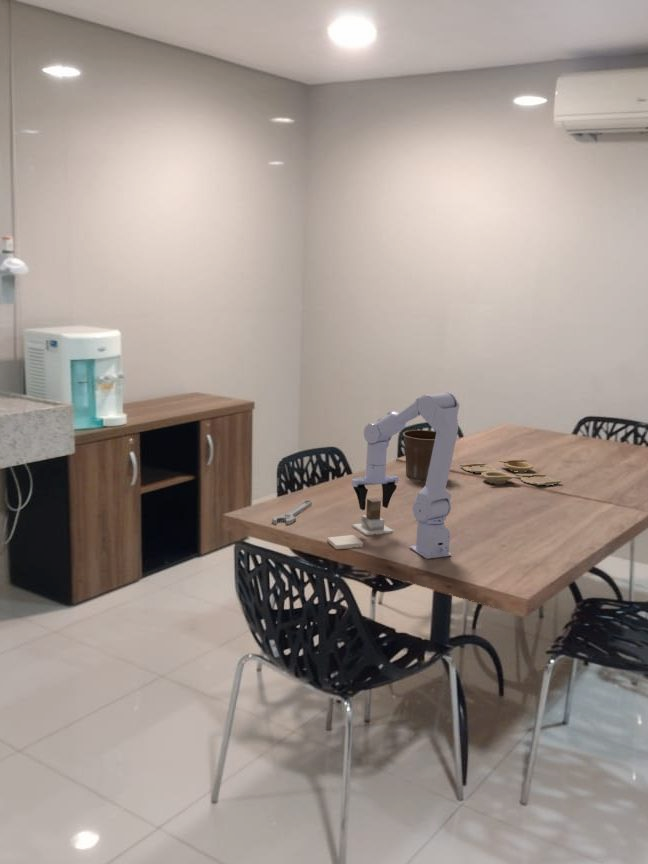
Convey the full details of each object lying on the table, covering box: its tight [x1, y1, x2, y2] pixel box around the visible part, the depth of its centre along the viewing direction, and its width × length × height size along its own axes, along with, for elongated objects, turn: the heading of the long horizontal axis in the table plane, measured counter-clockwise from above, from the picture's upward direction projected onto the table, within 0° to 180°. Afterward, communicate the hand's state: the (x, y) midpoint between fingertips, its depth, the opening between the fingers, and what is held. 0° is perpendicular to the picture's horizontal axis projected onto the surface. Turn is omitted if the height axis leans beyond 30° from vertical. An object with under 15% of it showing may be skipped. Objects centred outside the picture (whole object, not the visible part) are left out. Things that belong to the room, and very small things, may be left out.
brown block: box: [360, 497, 385, 531], centre depth 248 cm, size 6×4×8 cm
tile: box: [326, 534, 364, 550], centre depth 235 cm, size 7×2×8 cm
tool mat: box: [351, 523, 394, 536], centre depth 249 cm, size 9×9×1 cm
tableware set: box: [459, 458, 562, 486], centre depth 320 cm, size 35×29×4 cm
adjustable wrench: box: [271, 499, 313, 525], centre depth 261 cm, size 25×6×2 cm, turn 155°
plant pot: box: [402, 429, 436, 481], centre depth 313 cm, size 16×16×16 cm
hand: (373, 508), depth 248 cm, fingers open, 7 cm apart
